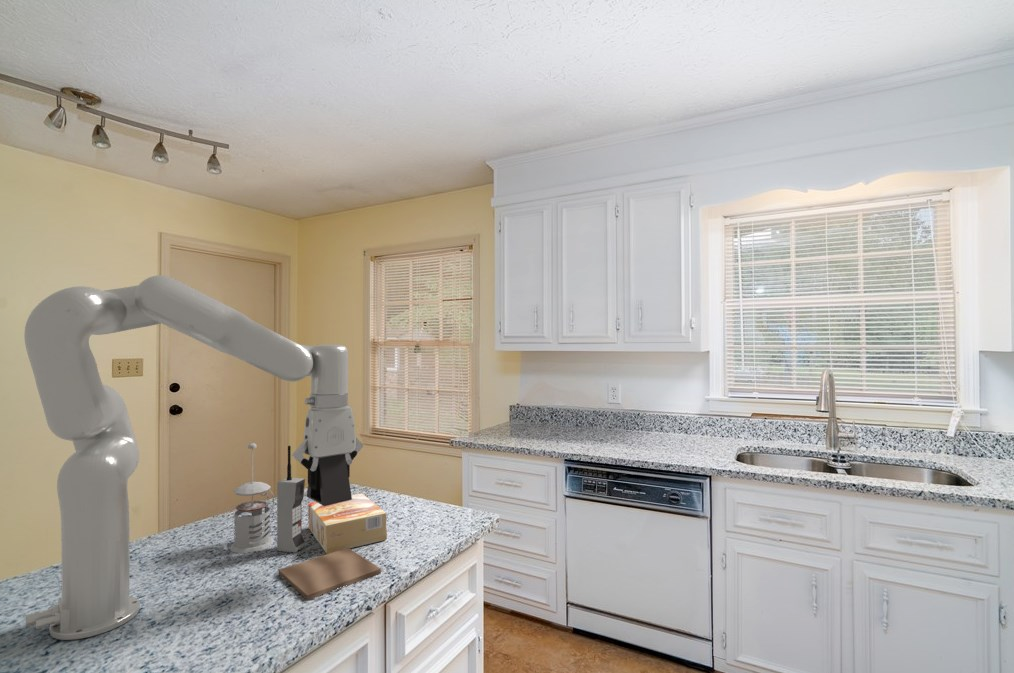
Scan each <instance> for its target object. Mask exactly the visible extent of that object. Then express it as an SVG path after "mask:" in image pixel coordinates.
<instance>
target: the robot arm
mask: <svg viewBox="0 0 1014 673" xmlns="http://www.w3.org/2000/svg"><path fill="white" fill-rule="evenodd" d="M161 324H162V325H163V326H167V327H169V328H170V329H173V330H175V331H177V332H179V333H182V334H184V335H186V336H188V337H190V338H192V339H194V340H196V341H198V342H200V343H201V344H202V343H203V344H205V345H206V346H208V347H210V348H213V349H215V350H217V351H219V352H221V353H224V354H227V355H229V356H232V357H234V358H236V359H239V360H241V361H242V362H245V363H246V364H249V365H251V366H254V367H256V368H258V369H259V370H261V371H262V372H263V371H264V372H266V373H268V374H270V375H272V376H274V377H277V378H279V379H281V380H283V381H286V382H299V381H301V380H303V379H305V378H306V377H310V378H311V380H310V381H311V382H310V394H309V397H306V398H304V404H305V405H308V406H309V407H310V408H308V409H307V413H306V418H305V422H304V427H303V428H304V430H303V440H302V442H301V444H300V445H299V446H298V447H297V448H296V449H295V451H294V452H292V455H291V458H293V459H294V460H296V461H297V462H298V463H299V464H300V465H302V466H303V467H304V468H305V469H306V470H307V485H309V486H310V488H312V489H314V490H318V489H319V471H318V470H317V465H318V463H319V458H323V457H329V456H335V455H341V454H345V457H346V463H347V470H348V476H349V478H350V477H351V476H350V468H351V467H350V465H351V464H352V463H353V460H355V458H356V456H357V455H358V453H359V452H360V451H361V449H362V448H363V447H364V444H363V443H362V441H360V440H359V439H358V438H357V436H356V426H355V425H356V423H355V417H354V412H353V408H352V406H348V405H349V402H348V401H349V351H348V348H347V347H346V346H345V345H343V344H318V345H317V344H316V345H309V344H307V345H306V344H299V343H298V342H295V341H293V340H291V339H290V338H287V337H285V336H283V335H281V334H279V333H277V332H275V331H273V330H272V329H269V328H267V327H265V326H264V325H262V324H259V323H258V322H256V321H255V320H252V318H249V317H248V316H247V315H246V314H244V313H242V312H240V311H238V309H237V310H236V309H235V308H233V307H231V306H229V305H226V304H225V303H223V302H221V301H219V300H217V299H215V298H212V297H211V296H209V295H207V294H205V293H203V292H201V291H199V290H197V289H195V288H194V287H191V286H189V285H187V284H185V283H183V282H181V281H180V280H178V279H175V278H173V277H170V276H167V275H160V274H159V275H153V276H149V277H147V278H145V279H144V280H142V281H141V282H140V283H138V285H132V286H128V287H127V286H126V287H125V286H124V287H119V288H113V289H107V290H101V289H99V288H95V287H90V286H72V287H67V288H63V289H60V290H58V291H55V292H53V293H52V294H50V295H48V296H46V297H45V298H44V299H42V300H41V301H40V302H39V303H38V304H37V305H36V306H35V307H34V308H33V309H32V311H31V312H30V314H29V316H28V318H27V320H26V322H25V327H24V332H23V334H24V336H23V337H24V345H25V349H26V352H27V356H28V360H29V363H30V366H31V369H32V373H33V377H34V380H35V384H36V388H37V392H38V396H39V399H40V401H41V405H42V408H43V412H44V415H45V420H46V423H47V424H46V425H47V426H48V428H49V430H50V431H51V433H52V434H53V435H55V436H56V437H58V438H60V439H61V440H65V441H70V442H72V443H73V444H72V445H73V448H74V450H75V452H74V453H73V454H72V455H70V456H69V457H68V458H67V459H66V460H65V461H64V463H63V464H62V466H61V468H60V469H59V472H58V475H57V480H56V490H57V491H56V492H57V496H58V497H57V498H58V504H59V511H60V512H59V513H60V536H61V537H60V538H61V540H60V541H61V598H59V599H57V604H55V605H53V606H50V608H49V609H47V610H46V609H45V610H44V611H43V610H42V611H37V612H34V613H30V614H27V615H26V614H25V628H30V627H33V626H35V630H39V629H41V628H45V627H46V628H47V626H49V635H50V636H51V637H52V638H54V639H56V640H60V641H61V640H62V641H63V640H64V641H70V640H71V641H73V640H81V639H85V638H90V637H95V636H98V635H101V634H104V633H107V632H109V631H111V630H115V629H116V628H118V627H121V626H123V625H124V624H126V623H128V622H129V621H131V620H132V619H133V618H134V617H135V616H136V615H137V614H138V613H139V611H140V609H141V601H140V600H139V599H138V598H136V597H133V596H131V595H130V504H129V494H128V480H129V478H130V477H131V476H132V475H133V474H134V472H135V471H136V469H137V468H138V465H139V462H140V461H139V460H140V452H139V446H138V444H137V439H136V436H135V433H134V428H133V426H132V422H131V419H130V416H129V412H128V409H127V406H126V403H125V401H124V398H123V397H122V395H121V394H120V393H119V392H118V391H117V390H116V389H114V388H113V387H111V386H109V385H107V384H103V382H102V379H101V376H100V373H99V369H98V368H99V367H98V364H97V361H96V358H95V356H94V354H93V351H92V349H91V347H90V337H91V336H92V335H95V336H101V335H109V334H114V333H120V332H124V331H126V332H127V331H130V330H134V329H135V330H136V329H141V328H146V327H150V326H151V327H152V326H156V325H161ZM304 454H305V455H307V456H308V458H306V457H305V456H304Z"/></svg>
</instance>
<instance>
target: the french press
mask: <svg viewBox="0 0 1014 673" xmlns="http://www.w3.org/2000/svg"><path fill="white" fill-rule="evenodd" d="M256 448H258V447H257V444H256V443H254V442H252V443H249V444H248V446H247V449H251V481H249V482H246V483H243V484H241V485H239V486H238V487H236V488H235V489H234V490H233V493H234V495H236V496H241V497H242V496H243V497H246V496H247V497H249V496H251V500H250V501H246V502H242V503H240V504H238V505H237V506H236V507H235V509H236V510H237V511H235V513H234V518H233V519H234V520H233V521H234V522H233V523H234V528H233V529H234V537H233V538H234V539H233V540H234V542H232V544H231V546H230V547H229V550H230V551H231V553H232V552H233V553H235V554H248V553H247V552H250V553H255V552H254V551H256V552H260V551H262V550H266V549H267V548H270V547H271V546H272V545H273V544H274V543H273V542H275V540H274V539H273V538H272V537H271V536H270V533H271V532H270V527H271V526H270V525H271V524H270V521H271V520H270V519H271V518H270V517H271V514H272V513H273V510H274V508H275V507H274V506H275V496H274V493H273V492H272V490H271V488H272V487H271V485H269V484H268V483H266V482H263V481H254V449H256ZM268 492H270V494H271V495H272V506H271V507H272V508H269V503H270V502H269V501H270V500H269V499H270V498H269V494H268ZM264 493H265V494H264ZM257 495H260V496H263V497H264V496H266V497H267V500H260V499H259V500H254V496H257ZM263 509H264V513H263ZM270 510H271V511H270ZM243 513H244V514H243ZM245 513H250V514H251V515H249V514H245ZM241 514H243V515H241ZM240 515H241V516H240ZM263 526H264V527H263ZM271 544H272V545H271ZM269 546H270V547H269Z"/></svg>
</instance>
